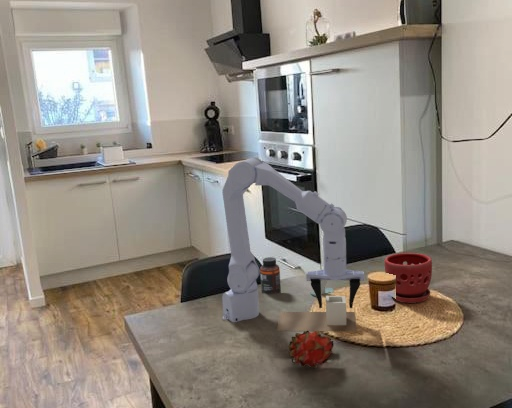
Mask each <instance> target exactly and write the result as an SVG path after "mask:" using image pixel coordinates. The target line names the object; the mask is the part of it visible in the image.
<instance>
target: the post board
mask: <svg viewBox="0 0 512 408" xmlns="http://www.w3.org/2000/svg"><path fill="white" fill-rule="evenodd" d="M335 302H336V301H335ZM276 331H277V332H304V331H309V332H314V331H319V332H358V327H357V321H356V313H355V311H346V325H327V324H326V311H280V312H279V317H278V322H277V327H276Z"/></svg>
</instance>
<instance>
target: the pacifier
mask: <svg viewBox="0 0 512 408" xmlns="http://www.w3.org/2000/svg"><path fill="white" fill-rule="evenodd" d="M326 286H327V280H321V295H323V294H334V288H332V287H326ZM310 294H311V295H312V296H314V297H316V294H315V292H314V291H311V292H310Z"/></svg>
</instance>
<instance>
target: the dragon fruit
mask: <svg viewBox="0 0 512 408" xmlns="http://www.w3.org/2000/svg"><path fill="white" fill-rule="evenodd" d="M302 332H303V333H300V332H295V336H292V337H291V340H290V341H289V343H288V351H287V352H288V356H289V358H291V363H292V364H294V365H299V364H300V366H301V367H305V366H309V367H310V368H314V369H317V367H318V365H321V364H322V365H324V364H325V363H326V362H327V361H328V358H329V357H330V355H331V353H333V348H334V340H332V339H331V338H330V336H328V335H321V333H320V331H312V332H311V331H302ZM294 359H295V361H294Z"/></svg>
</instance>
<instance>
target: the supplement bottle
mask: <svg viewBox="0 0 512 408" xmlns="http://www.w3.org/2000/svg"><path fill="white" fill-rule="evenodd" d="M259 270H260V273H259V275H260V287H261V288H260V289H261V294H281V292H282V290H281V286H282V285H281V271H280V265H278V264H277V259H276V258H275V257H271V256H270V257H263V259H262V265H261V266H260V268H259Z"/></svg>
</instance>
